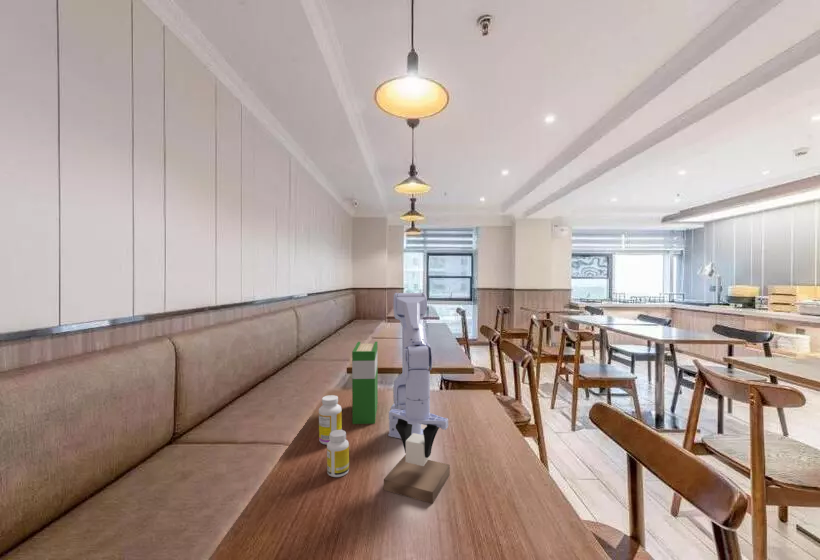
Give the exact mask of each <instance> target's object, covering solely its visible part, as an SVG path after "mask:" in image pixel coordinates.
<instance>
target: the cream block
mask: <svg viewBox="0 0 820 560" xmlns="http://www.w3.org/2000/svg"><path fill="white" fill-rule="evenodd" d="M405 455H406V462H408V463H412V464H416V465H420V466H424V465H425V463H426V462H427V461H428V460H430V458H431V455H430V456H429V457H428V458H426V457H425V441H424V434H423V435H421V434H416V433H413V434H412V435H411V436H410V437H409V438H408V439H407V440H406V453H405Z"/></svg>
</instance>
